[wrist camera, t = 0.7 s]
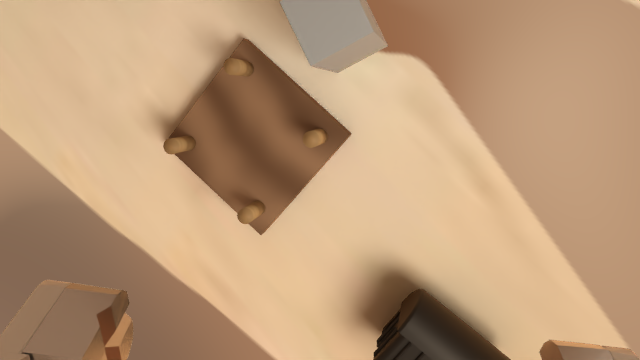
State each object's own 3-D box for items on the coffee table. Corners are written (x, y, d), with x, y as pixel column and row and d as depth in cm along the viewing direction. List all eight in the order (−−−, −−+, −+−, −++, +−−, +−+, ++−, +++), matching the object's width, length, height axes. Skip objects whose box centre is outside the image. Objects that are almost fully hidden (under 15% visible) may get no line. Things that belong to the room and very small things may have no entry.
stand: (248, 39, 46) (228, 33, 42) (351, 133, 46) (342, 137, 41) (170, 143, 50) (143, 147, 45) (264, 231, 49) (247, 245, 45)
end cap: (510, 345, 46) (522, 386, 39) (459, 395, 47) (462, 443, 41) (423, 275, 46) (421, 304, 40) (376, 327, 48) (366, 364, 42)
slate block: (362, -7, 43) (341, -36, 34) (387, 45, 44) (373, 31, 34) (313, 22, 45) (279, 1, 35) (337, 72, 45) (310, 66, 35)
